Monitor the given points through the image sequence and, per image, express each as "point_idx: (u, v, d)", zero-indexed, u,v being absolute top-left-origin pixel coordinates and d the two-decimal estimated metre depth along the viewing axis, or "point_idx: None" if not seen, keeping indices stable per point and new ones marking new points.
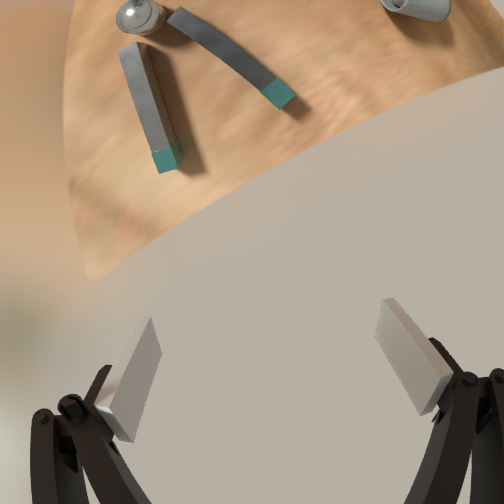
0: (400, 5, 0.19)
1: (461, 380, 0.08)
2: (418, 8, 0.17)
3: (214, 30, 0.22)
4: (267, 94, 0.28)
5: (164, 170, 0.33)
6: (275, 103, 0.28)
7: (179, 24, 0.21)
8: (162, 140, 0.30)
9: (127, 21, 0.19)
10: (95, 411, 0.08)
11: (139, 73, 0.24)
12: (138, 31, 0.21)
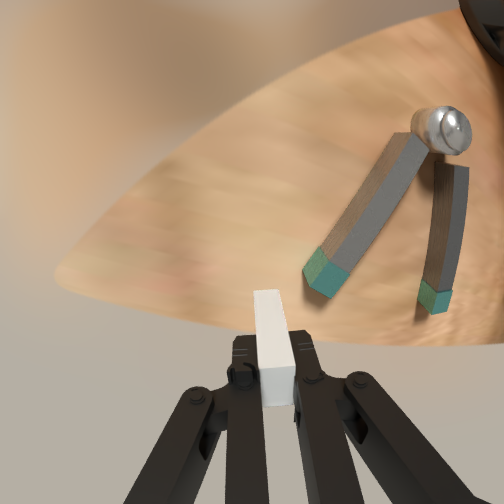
0: None
1: (302, 380, 0.10)
2: None
3: (464, 215, 0.23)
4: (438, 297, 0.26)
5: (318, 288, 0.25)
6: (434, 308, 0.27)
7: (457, 181, 0.22)
8: (351, 260, 0.24)
9: (451, 130, 0.18)
10: None
11: (405, 178, 0.21)
12: (441, 146, 0.20)
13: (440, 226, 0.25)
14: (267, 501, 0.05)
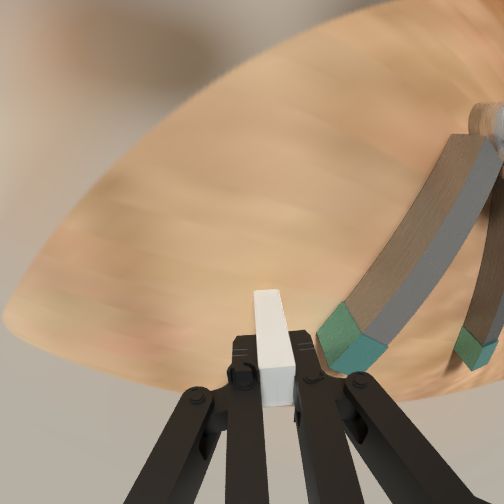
0: None
1: (302, 380, 0.10)
2: None
3: None
4: (482, 352, 0.17)
5: (341, 369, 0.16)
6: (476, 364, 0.17)
7: None
8: (392, 329, 0.15)
9: None
10: None
11: (475, 205, 0.12)
12: None
13: (496, 264, 0.16)
14: (267, 501, 0.05)
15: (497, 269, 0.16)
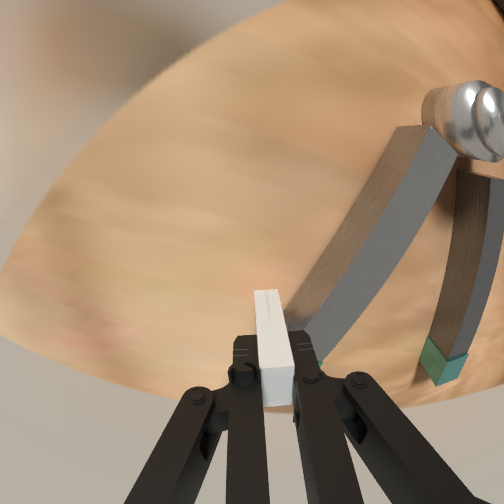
0: None
1: (301, 380, 0.10)
2: None
3: (498, 254, 0.14)
4: (448, 366, 0.17)
5: None
6: (441, 379, 0.17)
7: (493, 203, 0.12)
8: (324, 346, 0.15)
9: (492, 121, 0.09)
10: None
11: (418, 208, 0.12)
12: (475, 146, 0.10)
13: (462, 270, 0.16)
14: (268, 501, 0.05)
15: (462, 276, 0.16)
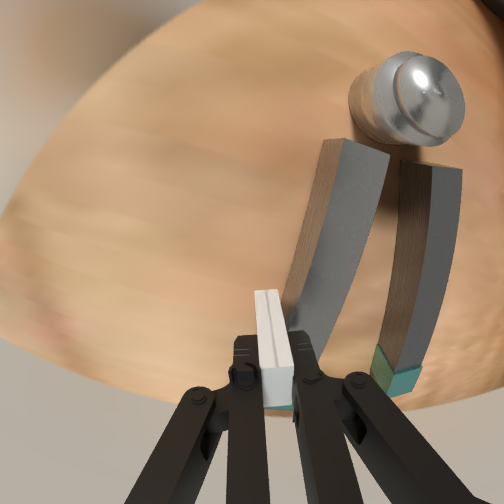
0: None
1: (301, 380, 0.10)
2: None
3: (450, 256, 0.14)
4: (396, 379, 0.17)
5: (271, 407, 0.17)
6: (389, 391, 0.17)
7: (438, 196, 0.12)
8: None
9: (421, 103, 0.09)
10: None
11: (355, 231, 0.13)
12: (399, 128, 0.10)
13: (406, 274, 0.16)
14: (268, 501, 0.05)
15: (407, 280, 0.16)
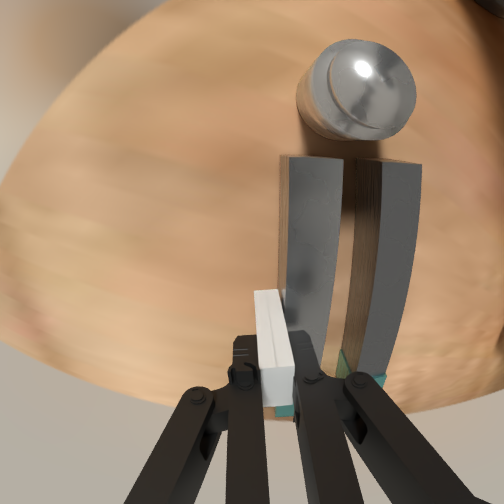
0: None
1: (302, 380, 0.10)
2: None
3: (410, 259, 0.14)
4: None
5: (287, 414, 0.18)
6: None
7: (391, 194, 0.12)
8: None
9: (360, 97, 0.09)
10: None
11: (323, 245, 0.13)
12: (336, 122, 0.10)
13: (362, 278, 0.16)
14: (267, 501, 0.05)
15: (362, 285, 0.16)
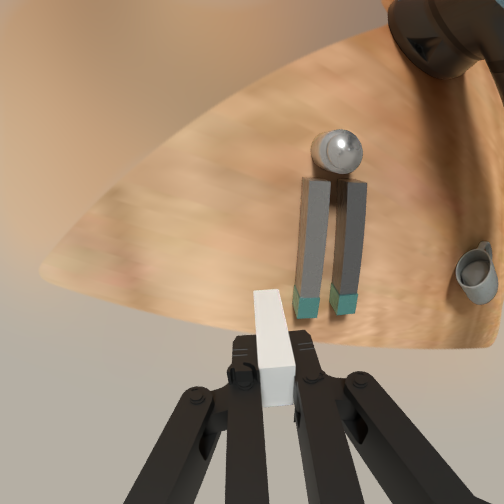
0: (465, 280, 0.36)
1: (302, 380, 0.10)
2: (475, 293, 0.33)
3: (363, 226, 0.31)
4: (341, 300, 0.35)
5: (303, 316, 0.35)
6: (339, 309, 0.35)
7: (351, 196, 0.30)
8: (315, 290, 0.34)
9: (338, 158, 0.27)
10: None
11: (322, 217, 0.30)
12: (328, 167, 0.28)
13: (340, 236, 0.33)
14: (267, 501, 0.05)
15: (340, 240, 0.33)
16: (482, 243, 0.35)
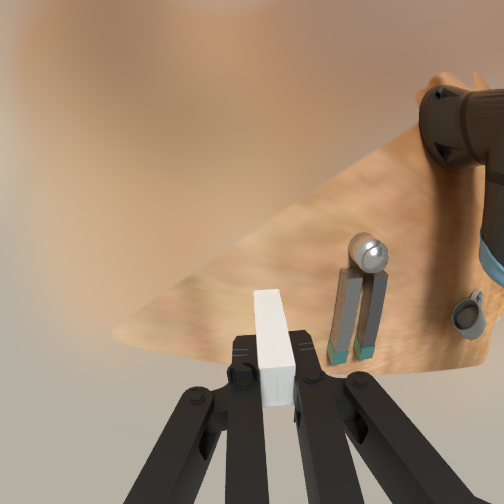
0: (458, 322, 0.46)
1: (302, 380, 0.10)
2: (465, 334, 0.43)
3: (382, 303, 0.42)
4: (363, 350, 0.45)
5: (336, 363, 0.45)
6: (361, 356, 0.45)
7: (376, 285, 0.40)
8: (345, 346, 0.44)
9: (370, 265, 0.37)
10: None
11: (354, 301, 0.41)
12: (362, 269, 0.38)
13: (365, 308, 0.44)
14: (267, 501, 0.05)
15: (365, 311, 0.44)
16: (475, 292, 0.45)
